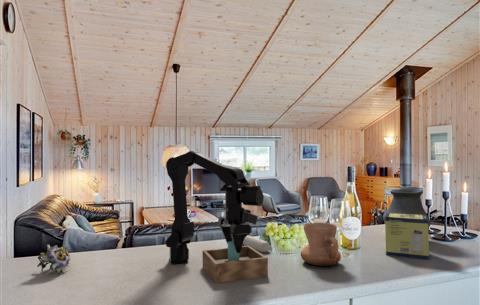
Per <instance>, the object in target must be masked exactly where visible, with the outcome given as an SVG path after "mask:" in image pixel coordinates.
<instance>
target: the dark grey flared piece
mask: <svg viewBox="0 0 480 305" xmlns="http://www.w3.org/2000/svg"><path fill="white" fill-rule="evenodd" d="M389 192H390V193H391V195H392V199H391V201H390V204H389V207H388V208H387V210H385V212H384V213H383V215H382V220H383V223H384V224H385V216H386V213H393V214H412V215H426V216H427V219H428V230H429V229H430V226H431V223H432V222H431V219H430V218H429V216H428V214H427V213H426V211H425V209H424V206H423V203H422V199H421V196H422V195H423V193H424V190H421V189H419V187H417V186H413V185H411V186H406V187H403V188H397V189H391V190H390V191H389Z"/></svg>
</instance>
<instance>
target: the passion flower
mask: <svg viewBox="0 0 480 305" xmlns="http://www.w3.org/2000/svg"><path fill="white" fill-rule="evenodd" d="M46 248H47V251H46V252H40V254H39V255H38V256H37V259H38V261H39V263H38V264H37V266H36V268H38V267H40V266H41V270H40V271H41V272H43V270H44V269H45V268H46V267H47V265H49V264H50V265H49V270H50V271H52V270H54V272H55V273H56V274H58V275H59V274H60V273H62V274H66V272H67V269H66V268H67V267H69V268H70V267H71V263H70V262H71V254H69V251H68V249H67V246H65V247H63V246H61V247H58V245H53V246H50V244H46Z"/></svg>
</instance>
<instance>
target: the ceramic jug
mask: <svg viewBox="0 0 480 305" xmlns="http://www.w3.org/2000/svg"><path fill="white" fill-rule="evenodd" d="M337 227H338V226H337V224H335V223H329V222H321V221H320V222H319V221H317V222H315V221H314V222H306V223H304V224H303V231H304V234H305V238H306V240H307V242H308V245H306V246H304V248H302V250H301V251H300V256H301V259H302V260H303V261H304V262H306V263H308V264H310V265H313V266H319V267H329V266H333V265H335V264H338V263H339V262H340V261H341V258H342V255H341V253H340V251H339V243H338V240H337V238H336V234H337V230H338V228H337Z"/></svg>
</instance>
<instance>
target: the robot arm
mask: <svg viewBox="0 0 480 305" xmlns="http://www.w3.org/2000/svg"><path fill="white" fill-rule="evenodd" d="M194 164H195V165H197V166H199V167H201V168H203V169H204V170H206V171H209V172H211V173H212V174H214V175H216V177H217V178H218V179H219V180H220V181H221V182H222V183H224V184H223V186H222V187H220V188H219V191H220V192H225V193H224V194H225V197H224V198H225V200H224V201H225V206H223V210H224V211H225V216H220V217H218V219H217V220H218V221H217V225H218V226H219V228H220V230H221V232H222V235H223V237H224V239H225V240H224V241H225V242H226V244H227V245H228V242H229V241H232V240H233V243H234V246H235V249H236V252H237V253H240V252H241V248H242V246H243V241H244V238H245V237H246V236H247V235H248V236H250V234H251V233H252V232H253V229H252V226H251V225H250V224H252V225H257V221H258V218H259V216H258V215H257V214H253V213H252V211H251V209H250V210H249V209H247V208H245V207H243V206H251V207H252V206H254V207H256V206H257V207H261V206H262V204H263V203H264V199H265V198H264V197H265V196H264V193H263V190H262V189H261V185H260V184H259V185H258V184H257V185H251V184H250V182H249V181H248V180H247V178H246V177H245V173H244V171H243V169H241V168H239V167H236V166H232V165H231V166H230V165H226V164H224V163H223V164H222V163H221V162H219V161H217V160H215V159H213V158H211V157H210V156H207V155H206V154H203V153H201V152H200V151H199V150H189V151H188V152H185V153H183V154H181V155H177V156H175V157H172V156H171V157H170V158H168V160H166V163H165V167H166V173H167V175H168V177H169V179H170V180H171V186H172V197H173V198H172V199H173V212H174V219H173V223H172V225H171V229H170V230H171V231H170V235H169V236H168V238H167V239H166V240H165V246H166V247H167V248H169V258H168V261H169V263H170V265H176V264H185V263H186V264H187V263H189V259H190V258H189V256H190V254H189V253H190V249H189V248H188V244H190V243H191V241H192V238H193V237H194V234H195V233H196V230H195V223H194V221H191V220H190V219H189V218H190V217H189V213H188V202H187V189H186V179H187V176H188V174H189V167H190V168H191V167H192V166H194ZM247 222H248V223H247Z"/></svg>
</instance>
